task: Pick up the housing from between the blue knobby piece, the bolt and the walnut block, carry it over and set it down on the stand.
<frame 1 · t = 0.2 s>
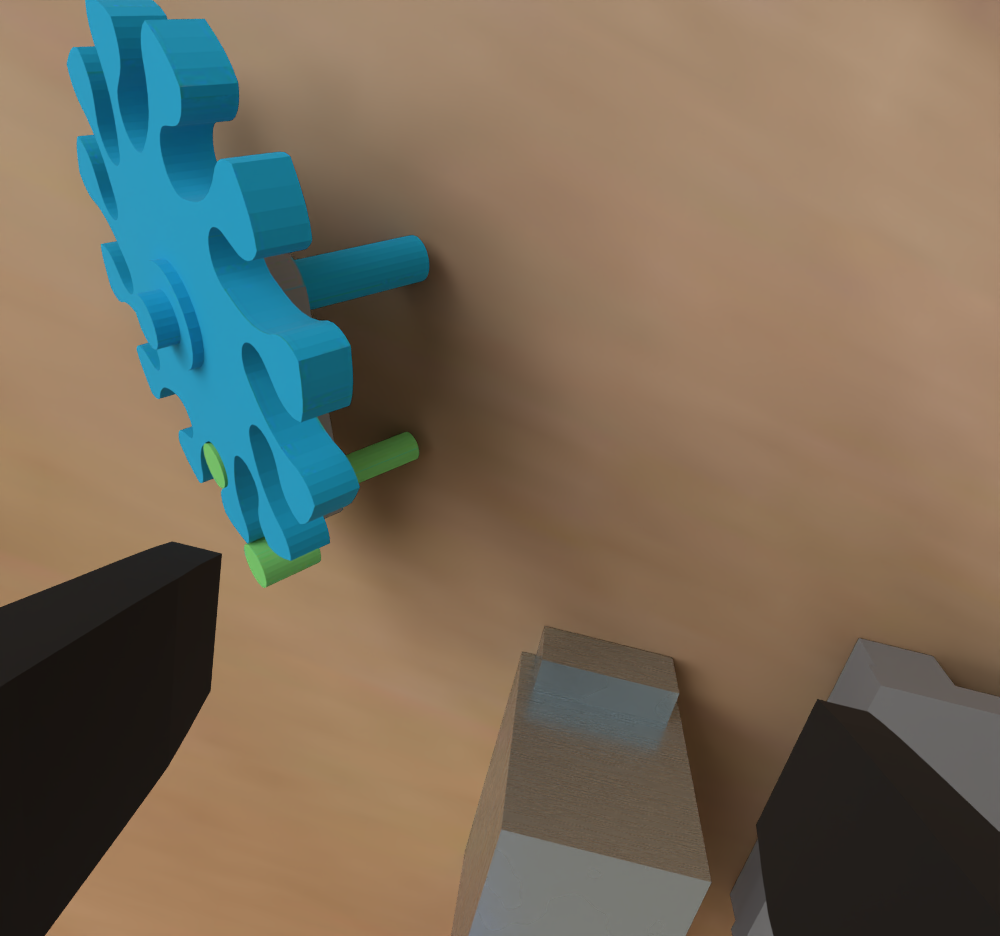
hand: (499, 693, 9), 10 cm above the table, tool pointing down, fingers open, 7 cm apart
stand: (950, 818, 21), on the table
housing: (562, 775, 22), on the table
blue knobby piece: (287, 302, 18), on the table
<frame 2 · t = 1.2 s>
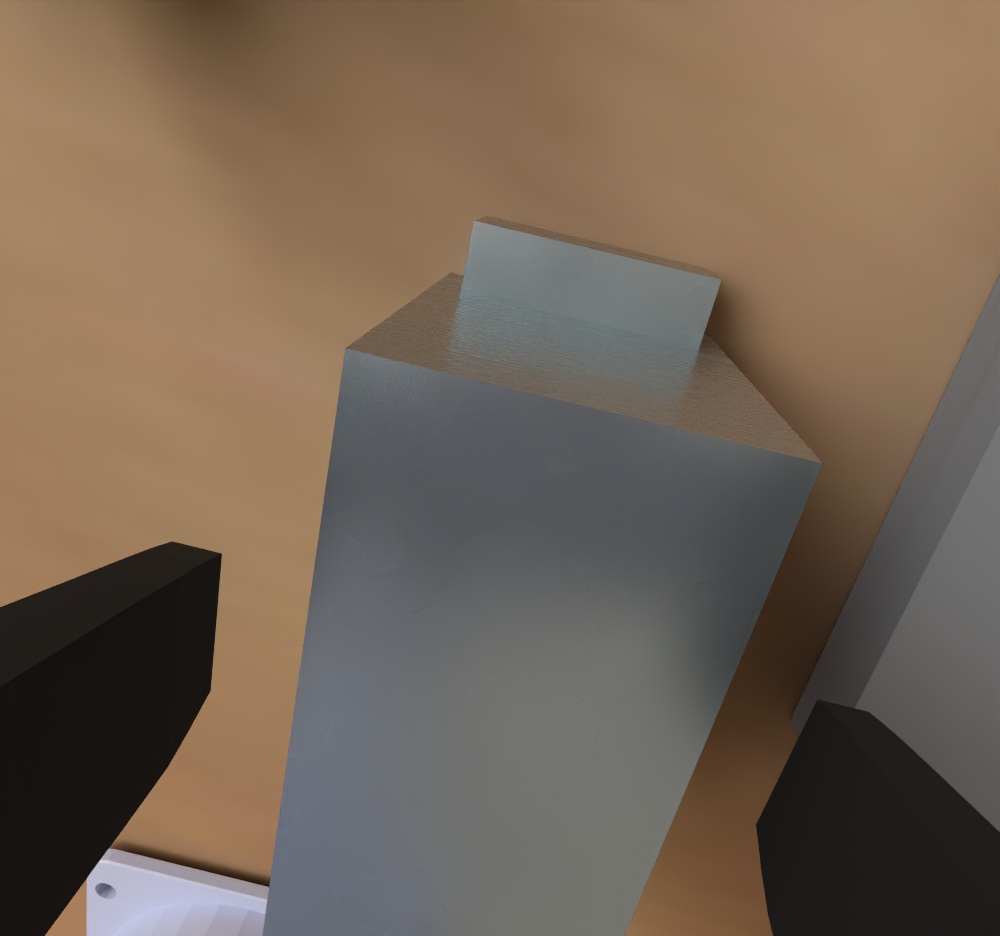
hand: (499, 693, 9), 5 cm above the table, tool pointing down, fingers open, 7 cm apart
housing: (524, 515, 14), on the table
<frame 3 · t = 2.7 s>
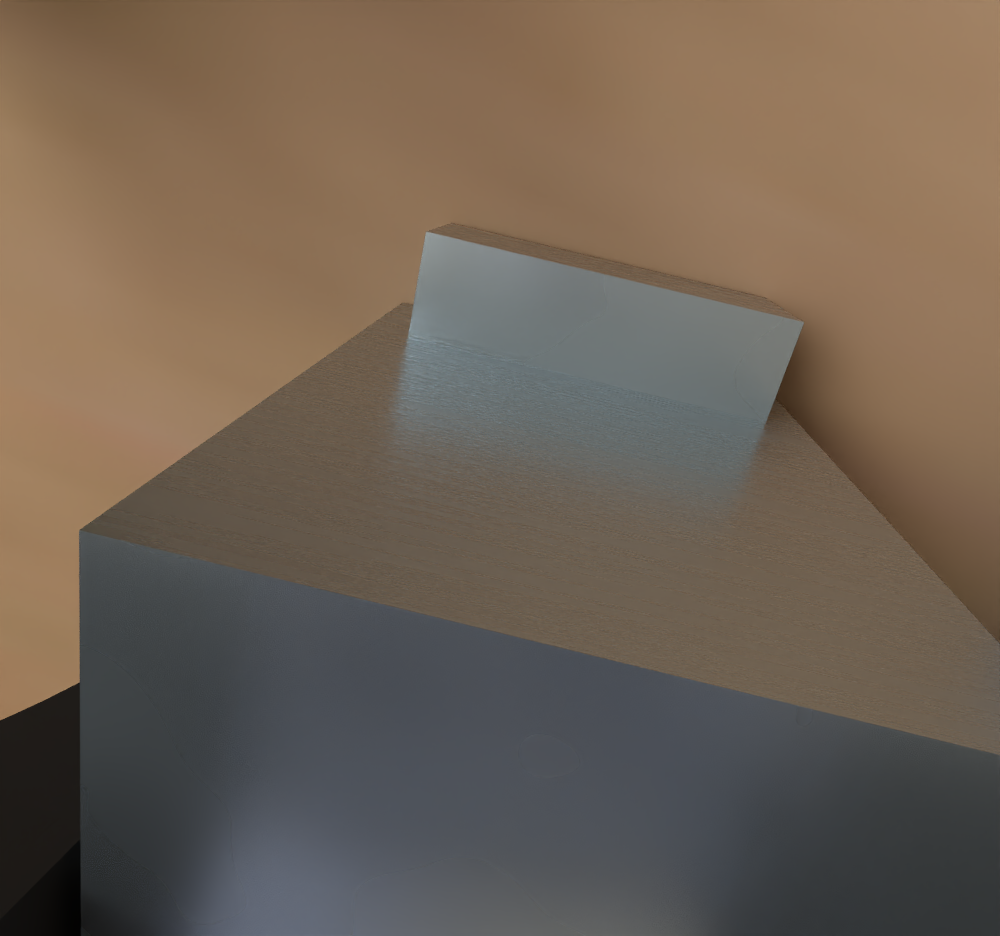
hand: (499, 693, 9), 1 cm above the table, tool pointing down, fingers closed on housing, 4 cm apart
housing: (509, 626, 10), on the table, touching gripper
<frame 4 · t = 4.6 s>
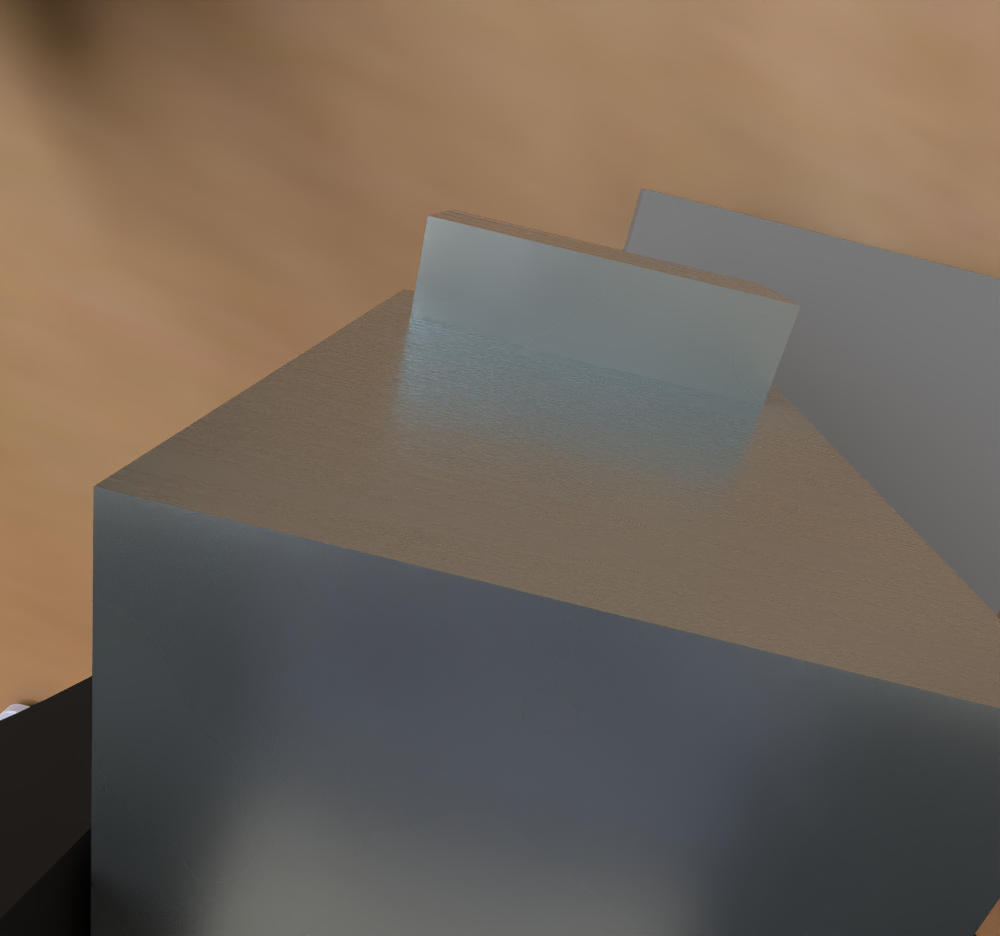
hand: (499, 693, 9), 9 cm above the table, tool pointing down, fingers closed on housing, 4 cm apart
stand: (778, 461, 17), on the table
housing: (509, 612, 10), point 8 cm above the table, touching gripper
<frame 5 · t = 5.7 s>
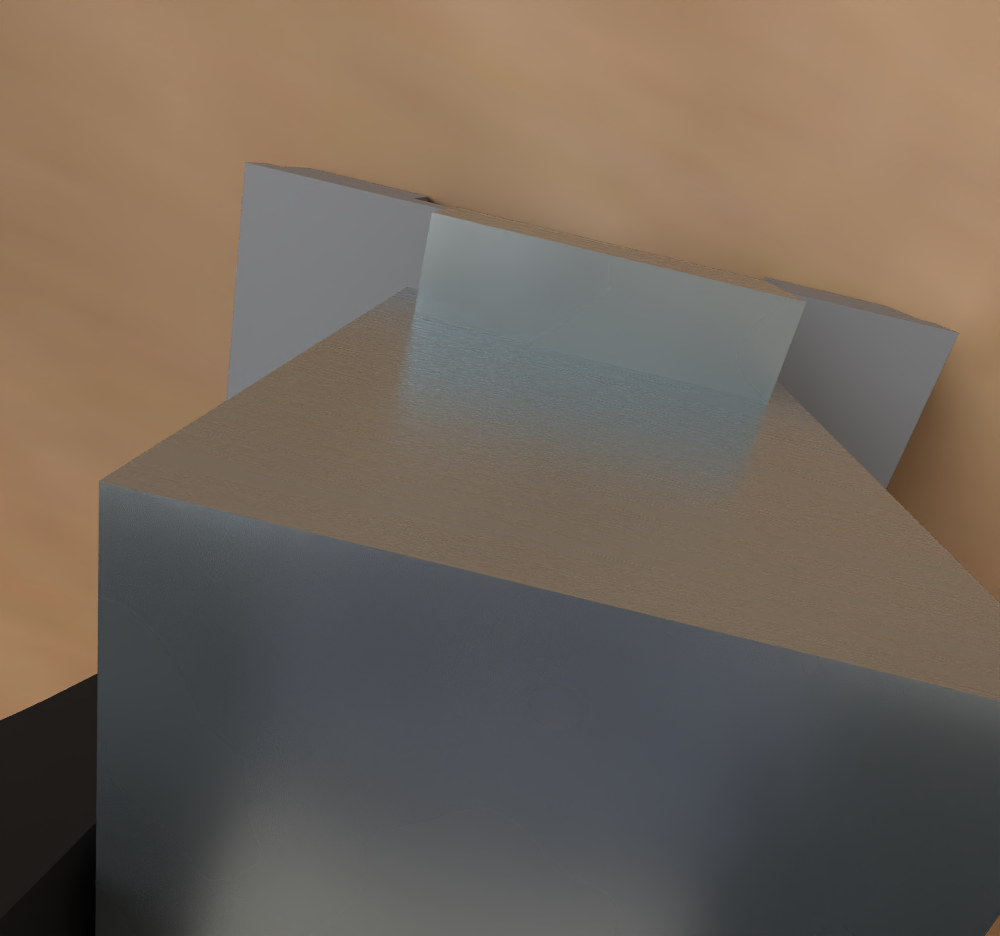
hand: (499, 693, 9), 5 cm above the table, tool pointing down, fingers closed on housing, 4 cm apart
stand: (525, 508, 14), on the table
housing: (512, 611, 10), point 4 cm above the table, touching gripper
when the fingers open (4 cm above the table, at t = 6.7 s): housing stays where it is, resting on stand.
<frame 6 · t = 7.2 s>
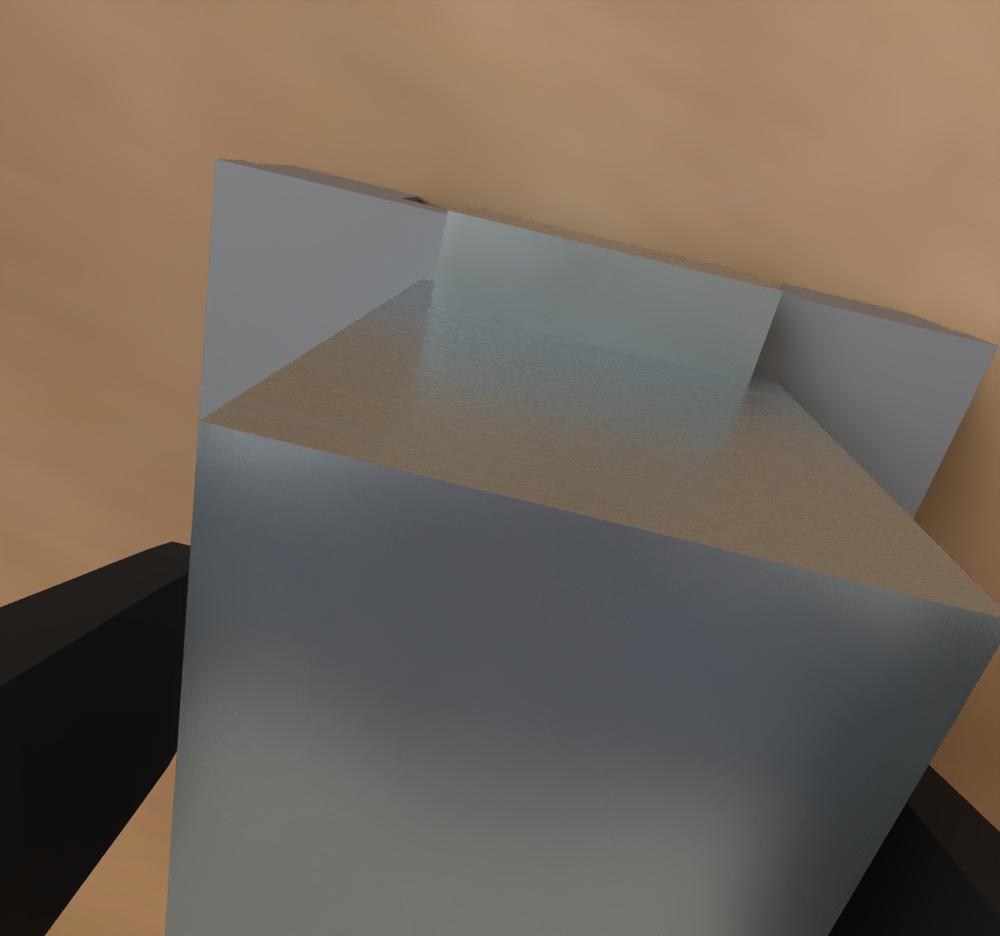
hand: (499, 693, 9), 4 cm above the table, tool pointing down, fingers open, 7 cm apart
stand: (524, 529, 13), on the table
housing: (517, 580, 11), point 2 cm above the table, touching stand
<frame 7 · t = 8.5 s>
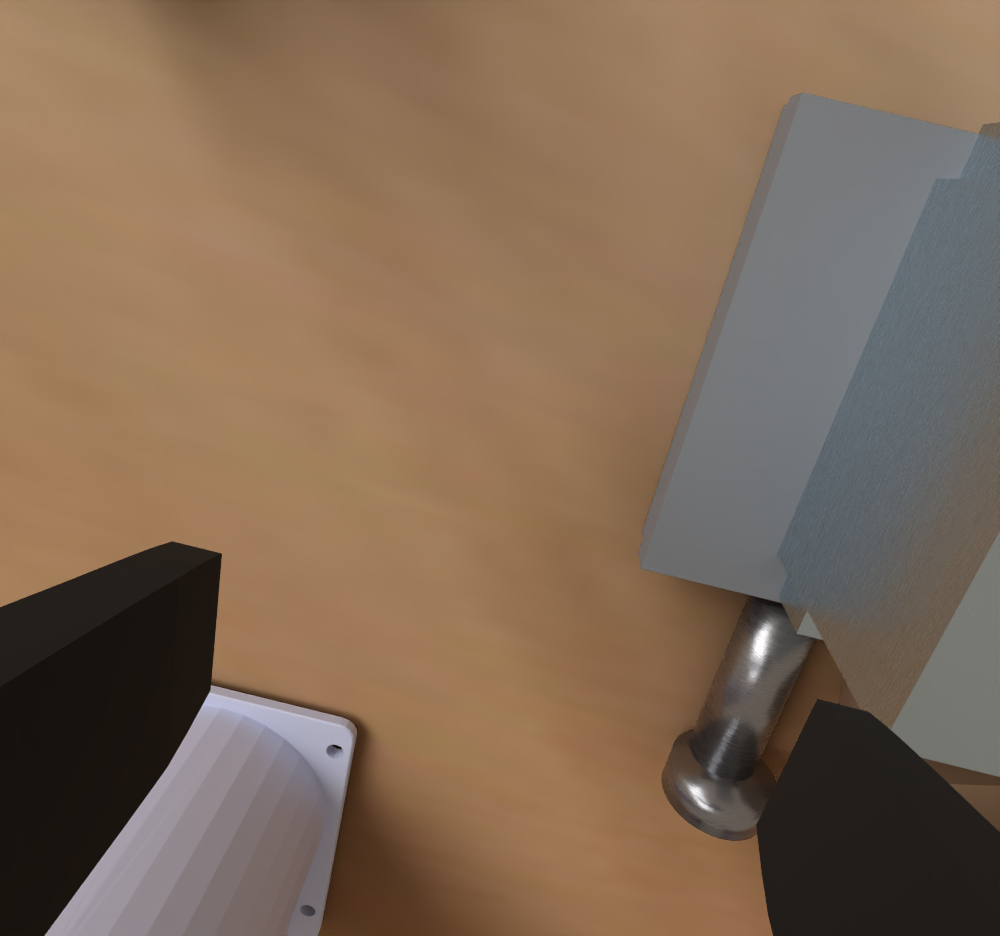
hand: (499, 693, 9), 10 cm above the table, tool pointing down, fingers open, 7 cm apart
stand: (909, 392, 17), on the table
bolt: (746, 661, 20), on the table
walnut block: (909, 730, 20), on the table
housing: (954, 411, 15), point 2 cm above the table, touching stand
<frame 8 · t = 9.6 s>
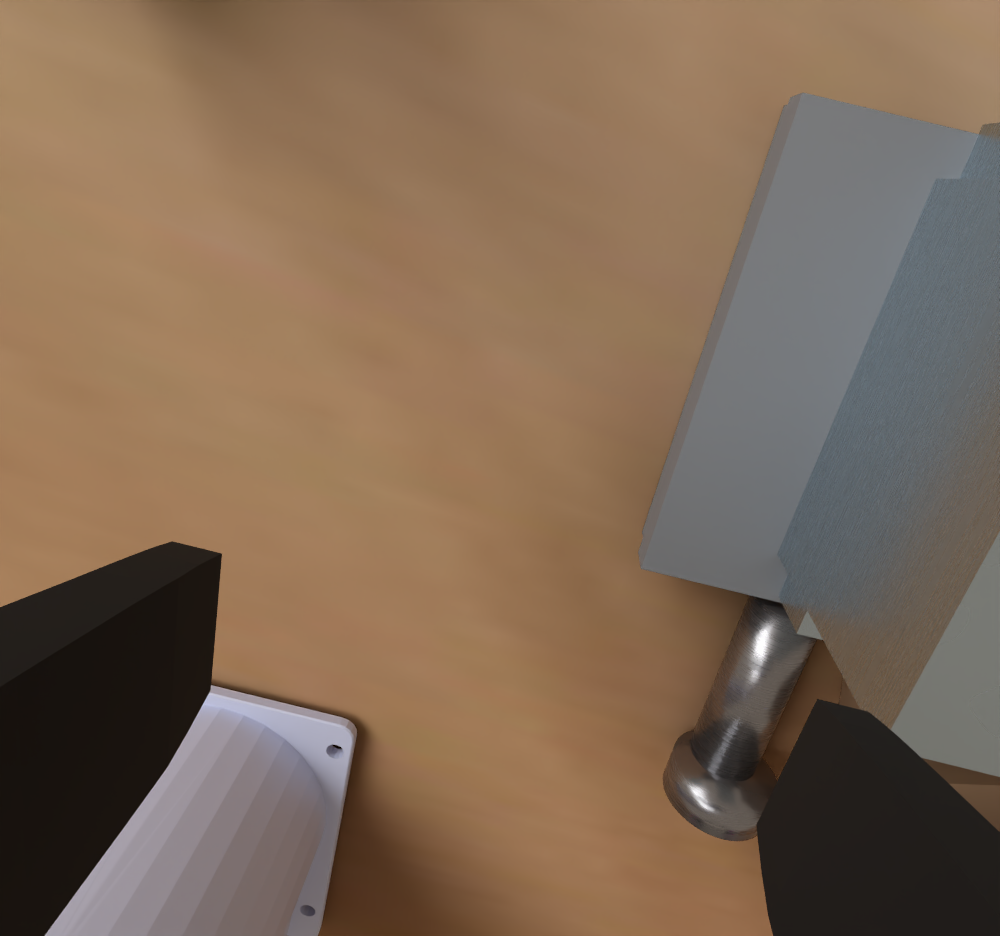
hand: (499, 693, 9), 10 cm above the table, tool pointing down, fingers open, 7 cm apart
stand: (909, 392, 17), on the table
bolt: (746, 661, 20), on the table
walnut block: (909, 730, 20), on the table
housing: (954, 411, 15), point 2 cm above the table, touching stand
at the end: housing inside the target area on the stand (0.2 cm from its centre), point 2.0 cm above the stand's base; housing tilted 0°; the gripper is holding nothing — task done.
